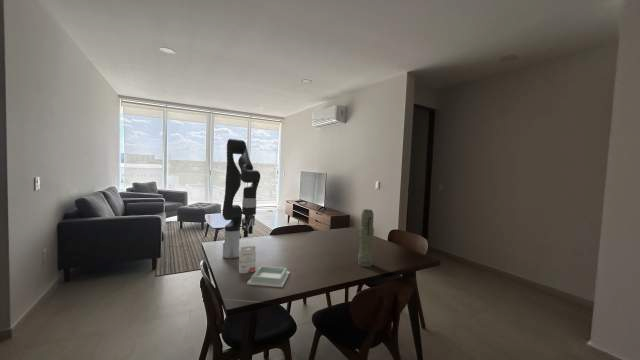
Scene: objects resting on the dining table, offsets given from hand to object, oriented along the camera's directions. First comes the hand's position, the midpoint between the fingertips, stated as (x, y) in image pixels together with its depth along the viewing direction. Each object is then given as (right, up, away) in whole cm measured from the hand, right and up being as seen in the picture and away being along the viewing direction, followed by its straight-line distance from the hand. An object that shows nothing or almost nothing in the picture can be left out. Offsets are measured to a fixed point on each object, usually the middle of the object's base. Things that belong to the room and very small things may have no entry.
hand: (248, 235), depth 147 cm
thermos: (+69, -23, +21) cm, 75 cm away
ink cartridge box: (-1, -21, +1) cm, 21 cm away
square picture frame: (+13, -21, -7) cm, 26 cm away
